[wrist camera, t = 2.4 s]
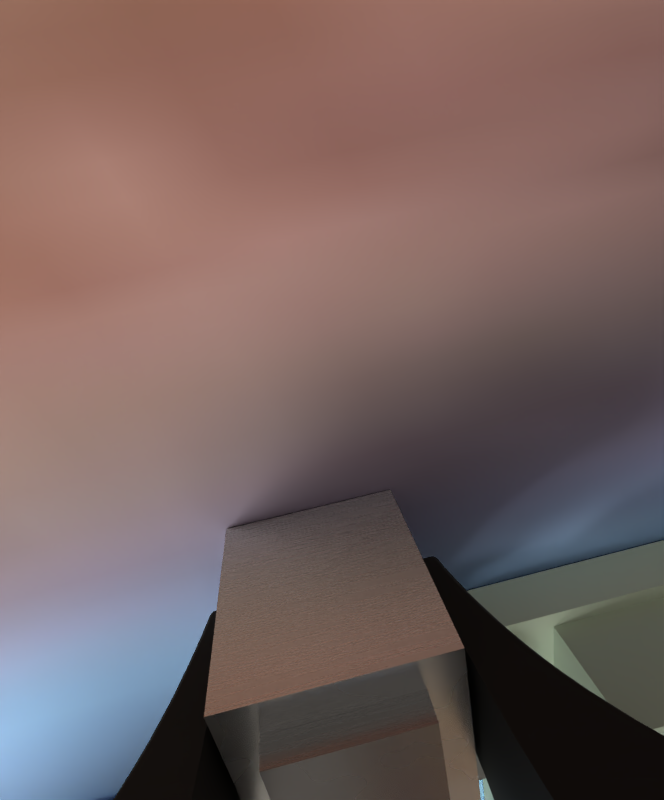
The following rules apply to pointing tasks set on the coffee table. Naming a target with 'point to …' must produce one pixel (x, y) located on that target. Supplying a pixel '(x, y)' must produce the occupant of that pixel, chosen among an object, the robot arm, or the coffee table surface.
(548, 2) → the coffee table surface
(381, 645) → the engine block
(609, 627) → the chassis
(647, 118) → the coffee table surface
